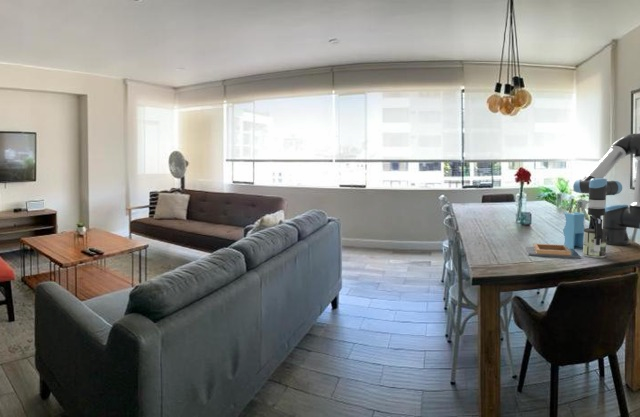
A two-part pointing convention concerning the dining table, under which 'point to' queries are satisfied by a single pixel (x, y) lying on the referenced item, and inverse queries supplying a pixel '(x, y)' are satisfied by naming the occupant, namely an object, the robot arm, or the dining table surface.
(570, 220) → the open-sided blue scoop
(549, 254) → the collar plate
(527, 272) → the dining table surface
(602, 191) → the robot arm
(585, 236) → the coffee can
